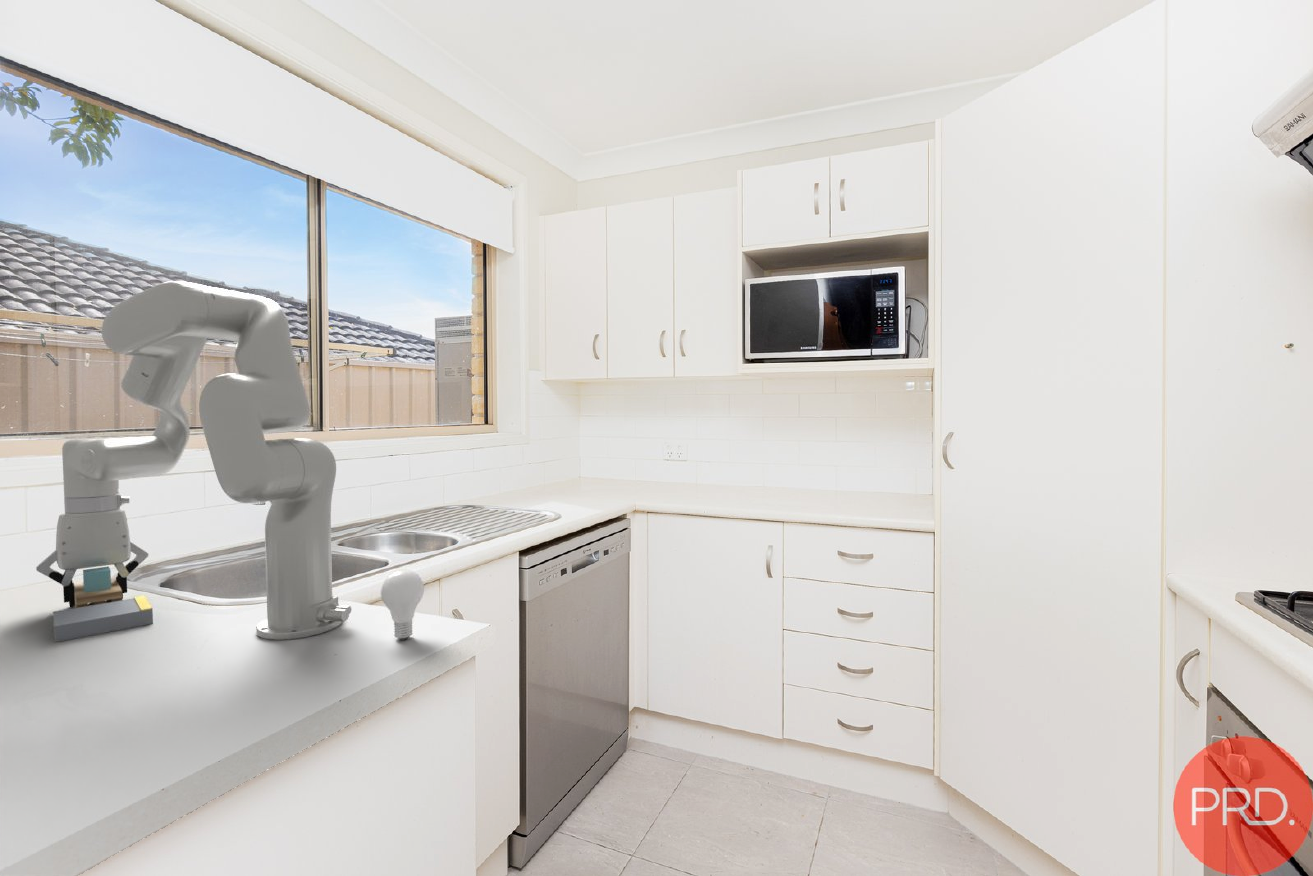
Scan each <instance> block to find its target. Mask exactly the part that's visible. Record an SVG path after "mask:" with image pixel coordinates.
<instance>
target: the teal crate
mask: <svg viewBox="0 0 1313 876" xmlns="http://www.w3.org/2000/svg"><path fill="white" fill-rule="evenodd" d="M111 573H112V572H111V569H110V566H100V567H96V568H95V567H93V568H85V569H82V575H83V576H82V577H83V580H82V581H83V582H82V583H84V592H85V593H88V592H95V591H101V590H108V589H111V579H112V578H111Z"/></svg>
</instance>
